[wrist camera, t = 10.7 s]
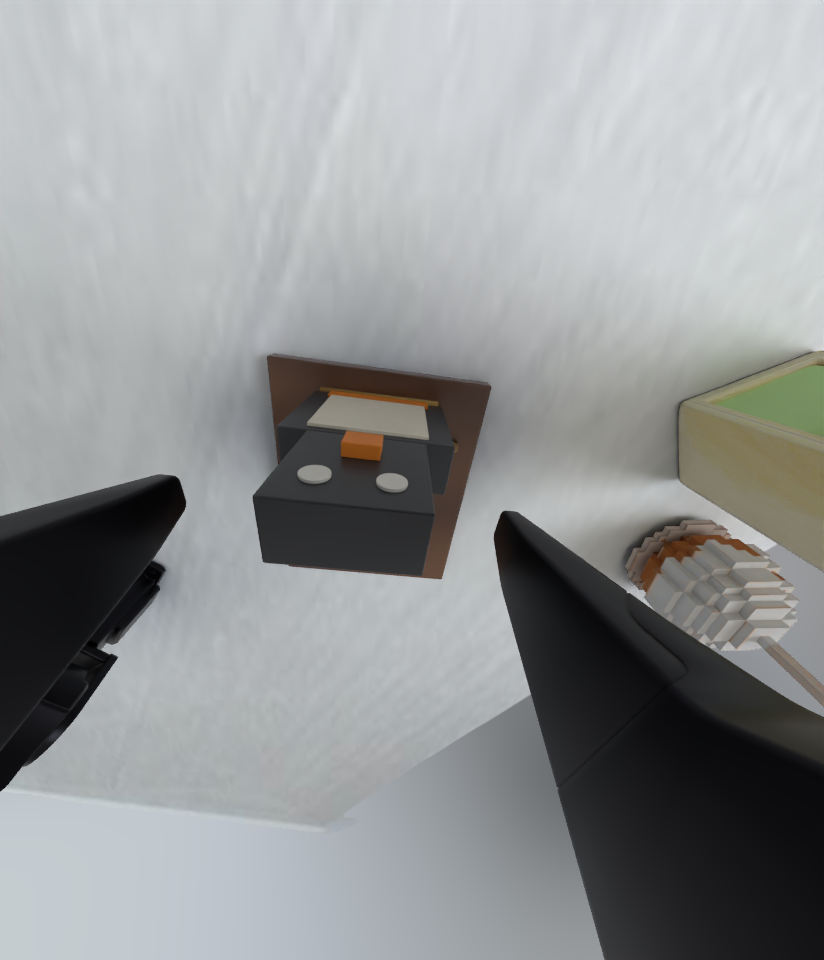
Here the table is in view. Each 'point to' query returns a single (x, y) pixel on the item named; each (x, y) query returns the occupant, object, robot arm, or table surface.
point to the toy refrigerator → (763, 453)
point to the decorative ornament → (719, 591)
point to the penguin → (355, 484)
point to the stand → (455, 396)
